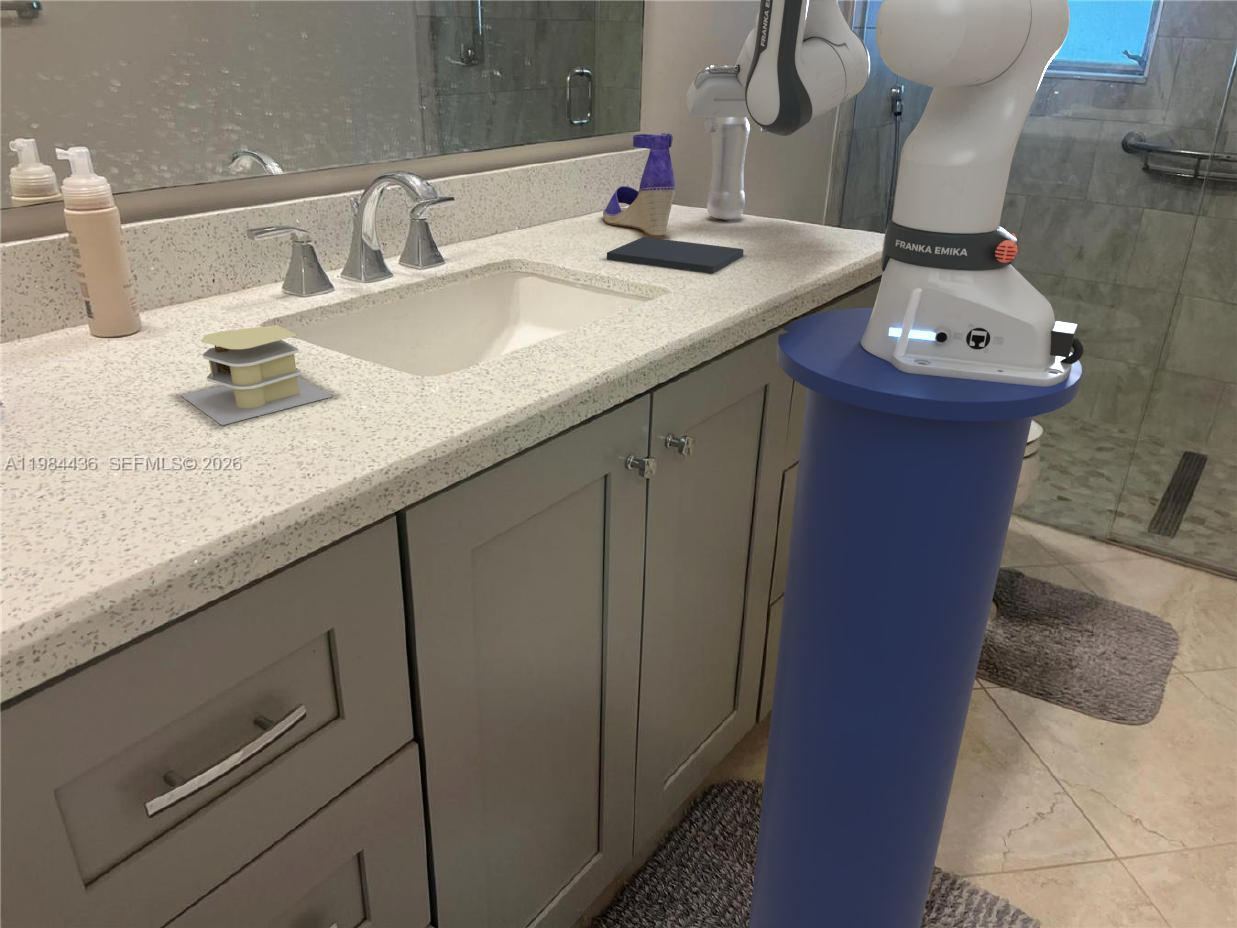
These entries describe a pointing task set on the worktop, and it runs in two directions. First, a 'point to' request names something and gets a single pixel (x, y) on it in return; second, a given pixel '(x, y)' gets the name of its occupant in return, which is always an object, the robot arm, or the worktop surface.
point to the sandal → (647, 191)
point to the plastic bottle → (728, 168)
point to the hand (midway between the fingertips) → (736, 129)
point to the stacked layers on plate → (252, 375)
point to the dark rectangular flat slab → (676, 254)
